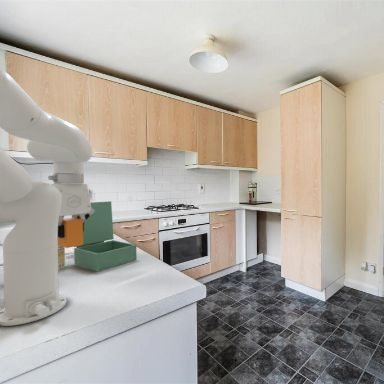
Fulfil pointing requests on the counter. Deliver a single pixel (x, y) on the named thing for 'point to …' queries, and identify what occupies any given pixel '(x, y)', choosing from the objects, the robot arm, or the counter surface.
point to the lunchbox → (104, 255)
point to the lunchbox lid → (98, 224)
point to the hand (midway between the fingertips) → (70, 235)
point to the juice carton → (72, 233)
